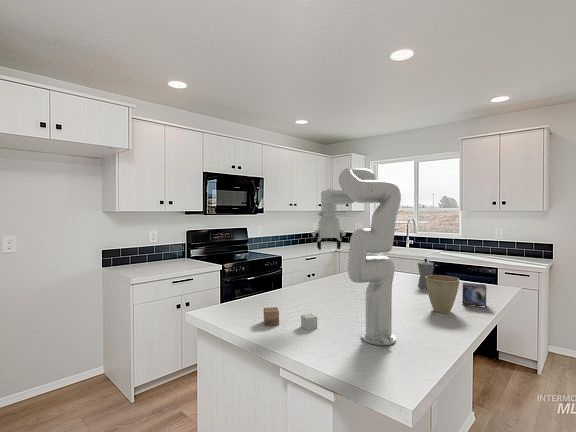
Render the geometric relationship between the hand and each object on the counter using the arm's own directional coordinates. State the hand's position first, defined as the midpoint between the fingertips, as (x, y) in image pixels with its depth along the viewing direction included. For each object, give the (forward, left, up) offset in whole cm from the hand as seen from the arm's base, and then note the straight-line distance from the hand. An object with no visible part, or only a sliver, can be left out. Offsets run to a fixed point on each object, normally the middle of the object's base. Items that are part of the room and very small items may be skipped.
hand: (328, 249), depth 166 cm
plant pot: (-15, -52, -30) cm, 62 cm away
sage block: (-25, +16, -30) cm, 42 cm away
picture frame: (-9, -74, -30) cm, 80 cm away
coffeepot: (+31, -73, -30) cm, 84 cm away
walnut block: (-17, +31, -29) cm, 46 cm away
